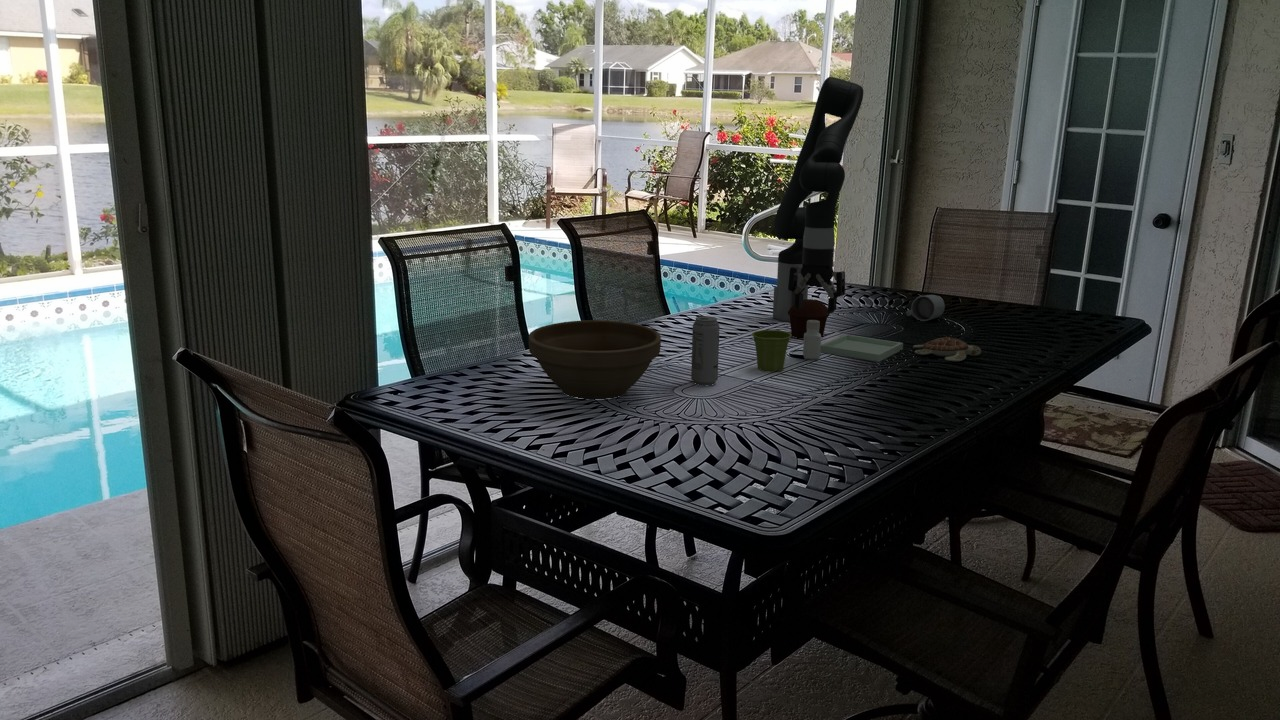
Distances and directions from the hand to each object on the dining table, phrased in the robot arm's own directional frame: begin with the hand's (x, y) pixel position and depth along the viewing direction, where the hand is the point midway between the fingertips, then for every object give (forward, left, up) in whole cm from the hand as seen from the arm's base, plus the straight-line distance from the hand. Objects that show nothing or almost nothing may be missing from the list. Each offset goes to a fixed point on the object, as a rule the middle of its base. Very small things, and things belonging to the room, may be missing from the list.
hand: (815, 310), depth 233 cm
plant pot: (-3, -16, -12) cm, 21 cm away
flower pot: (-24, -57, -12) cm, 63 cm away
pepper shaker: (0, 0, -12) cm, 12 cm away
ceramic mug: (+5, +65, -13) cm, 66 cm away
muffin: (-12, +22, -12) cm, 28 cm away
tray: (+7, +15, -12) cm, 20 cm away
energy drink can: (-9, -36, -12) cm, 39 cm away
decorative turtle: (+26, +25, -13) cm, 38 cm away
